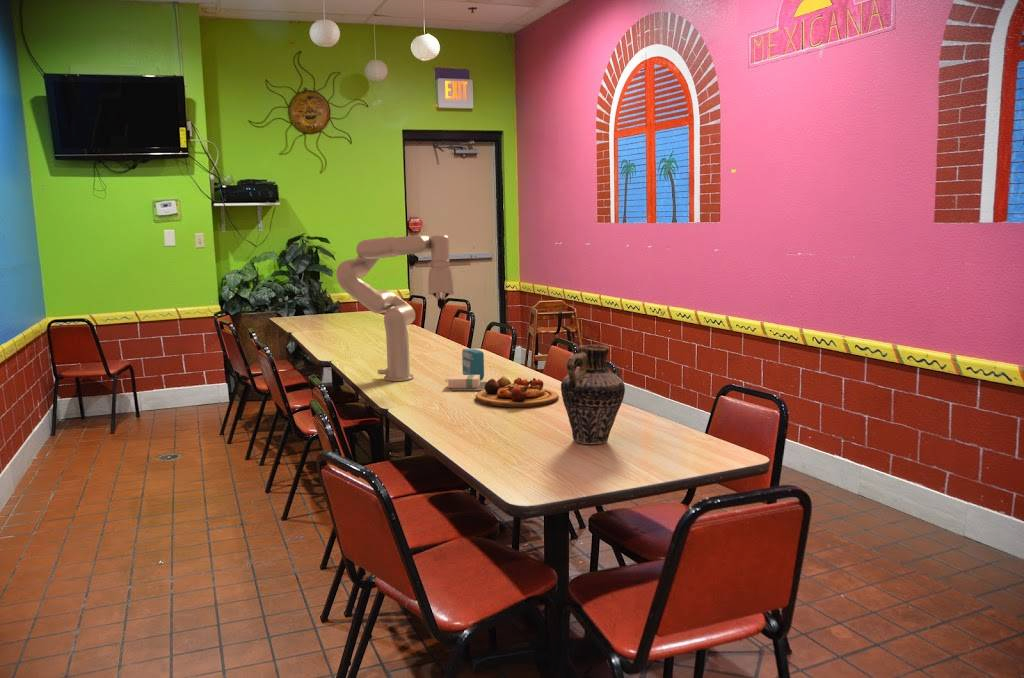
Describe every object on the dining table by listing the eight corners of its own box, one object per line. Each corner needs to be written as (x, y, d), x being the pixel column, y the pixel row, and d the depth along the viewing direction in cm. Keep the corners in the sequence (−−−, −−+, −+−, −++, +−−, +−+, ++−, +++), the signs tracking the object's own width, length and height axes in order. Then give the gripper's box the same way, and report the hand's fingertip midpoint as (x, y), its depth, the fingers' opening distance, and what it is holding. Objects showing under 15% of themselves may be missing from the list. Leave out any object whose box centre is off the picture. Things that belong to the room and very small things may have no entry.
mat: (451, 391, 325) (451, 389, 324) (456, 383, 340) (456, 381, 340) (498, 391, 323) (498, 389, 323) (501, 383, 339) (501, 381, 339)
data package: (462, 375, 357) (461, 348, 355) (471, 374, 359) (471, 347, 357) (475, 380, 347) (474, 352, 345) (484, 378, 349) (483, 351, 347)
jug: (584, 429, 264) (584, 339, 260) (636, 439, 252) (637, 344, 247) (546, 444, 248) (545, 347, 244) (599, 455, 236) (600, 353, 232)
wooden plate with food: (550, 411, 291) (550, 388, 290) (465, 406, 298) (465, 384, 297) (564, 394, 322) (565, 373, 321) (487, 390, 329) (487, 370, 328)
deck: (448, 379, 327) (477, 379, 327) (451, 374, 336) (480, 374, 336) (448, 388, 328) (477, 388, 327) (451, 383, 337) (480, 383, 336)
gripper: (421, 265, 335) (422, 309, 338) (457, 265, 334) (457, 309, 337) (424, 264, 342) (425, 307, 345) (459, 264, 342) (460, 307, 344)
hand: (441, 308), depth 341 cm, fingers closed
